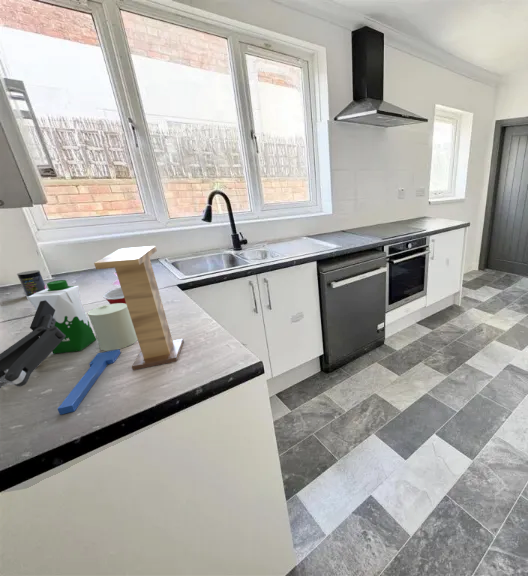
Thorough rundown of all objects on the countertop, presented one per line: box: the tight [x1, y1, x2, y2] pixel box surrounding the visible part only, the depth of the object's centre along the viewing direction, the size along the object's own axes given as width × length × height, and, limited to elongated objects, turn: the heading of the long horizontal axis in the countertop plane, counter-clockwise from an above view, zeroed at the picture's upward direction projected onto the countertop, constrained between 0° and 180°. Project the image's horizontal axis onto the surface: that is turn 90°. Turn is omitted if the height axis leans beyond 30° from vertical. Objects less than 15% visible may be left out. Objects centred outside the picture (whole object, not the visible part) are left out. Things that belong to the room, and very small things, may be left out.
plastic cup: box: [102, 286, 126, 304], centre depth 107 cm, size 11×11×12 cm
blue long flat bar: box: [57, 349, 121, 415], centre depth 77 cm, size 26×5×2 cm, turn 24°
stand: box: [93, 245, 185, 371], centre depth 82 cm, size 17×10×30 cm, turn 24°
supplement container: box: [16, 269, 48, 297], centre depth 136 cm, size 7×7×10 cm
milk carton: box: [26, 279, 97, 355], centre depth 90 cm, size 9×9×20 cm
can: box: [87, 303, 138, 352], centre depth 93 cm, size 9×9×12 cm
